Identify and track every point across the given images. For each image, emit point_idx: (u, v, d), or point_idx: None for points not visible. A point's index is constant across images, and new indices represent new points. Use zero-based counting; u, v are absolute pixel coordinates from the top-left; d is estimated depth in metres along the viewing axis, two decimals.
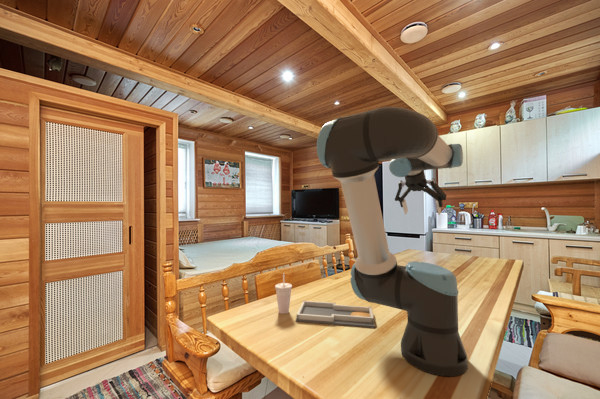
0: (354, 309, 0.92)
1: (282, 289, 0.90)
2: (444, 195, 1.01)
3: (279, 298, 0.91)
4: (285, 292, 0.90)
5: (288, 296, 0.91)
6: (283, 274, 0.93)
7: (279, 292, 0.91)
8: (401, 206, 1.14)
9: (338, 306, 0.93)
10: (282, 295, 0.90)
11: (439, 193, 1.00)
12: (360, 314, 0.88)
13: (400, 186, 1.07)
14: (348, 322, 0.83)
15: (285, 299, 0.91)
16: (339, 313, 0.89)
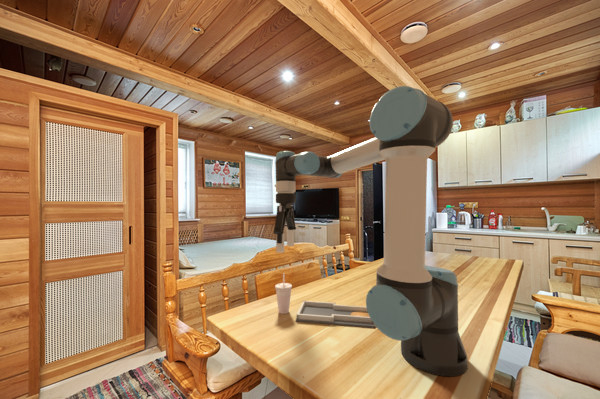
0: (354, 309, 0.92)
1: (282, 289, 0.90)
2: None
3: (279, 298, 0.91)
4: (285, 292, 0.90)
5: (288, 296, 0.91)
6: (283, 274, 0.93)
7: (279, 292, 0.91)
8: (281, 242, 0.86)
9: (338, 306, 0.93)
10: (282, 295, 0.90)
11: None
12: (360, 314, 0.88)
13: (284, 210, 0.88)
14: (348, 322, 0.83)
15: (285, 299, 0.91)
16: (339, 313, 0.89)
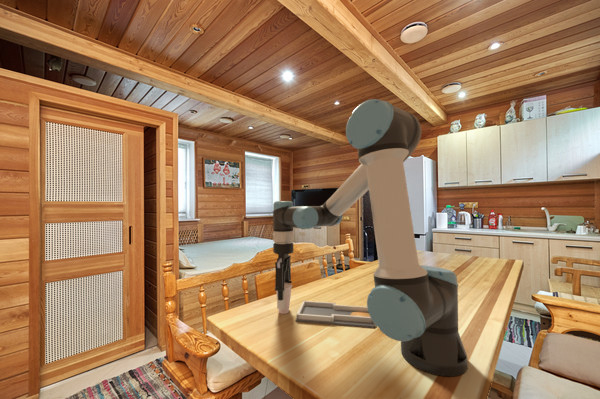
0: (354, 309, 0.92)
1: None
2: None
3: None
4: (285, 292, 0.90)
5: (288, 296, 0.91)
6: None
7: None
8: (282, 299, 0.88)
9: (338, 306, 0.93)
10: None
11: (290, 271, 0.99)
12: (360, 314, 0.88)
13: (282, 266, 0.87)
14: (348, 322, 0.83)
15: (285, 299, 0.91)
16: (339, 313, 0.89)
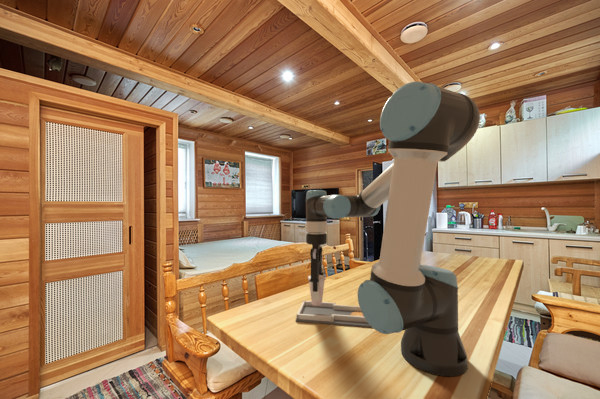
0: (354, 309, 0.92)
1: None
2: None
3: None
4: (319, 283, 0.88)
5: (322, 287, 0.89)
6: None
7: None
8: (317, 290, 0.86)
9: (338, 306, 0.93)
10: None
11: (321, 262, 0.97)
12: (360, 314, 0.88)
13: (318, 256, 0.85)
14: (348, 322, 0.83)
15: (319, 291, 0.88)
16: (339, 313, 0.89)
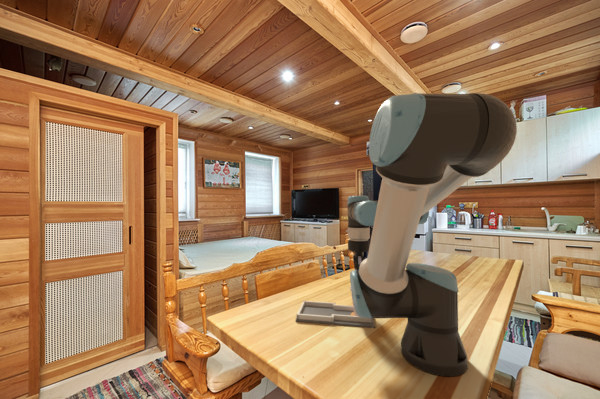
0: None
1: None
2: None
3: None
4: None
5: None
6: None
7: None
8: None
9: (338, 306, 0.93)
10: None
11: None
12: None
13: None
14: (348, 322, 0.83)
15: None
16: (339, 313, 0.89)
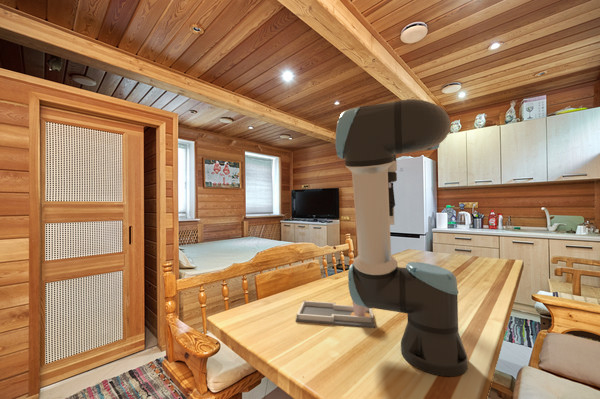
0: None
1: None
2: None
3: None
4: None
5: None
6: None
7: None
8: (392, 214, 0.96)
9: (338, 306, 0.93)
10: None
11: None
12: None
13: None
14: (348, 322, 0.83)
15: None
16: (339, 313, 0.89)
